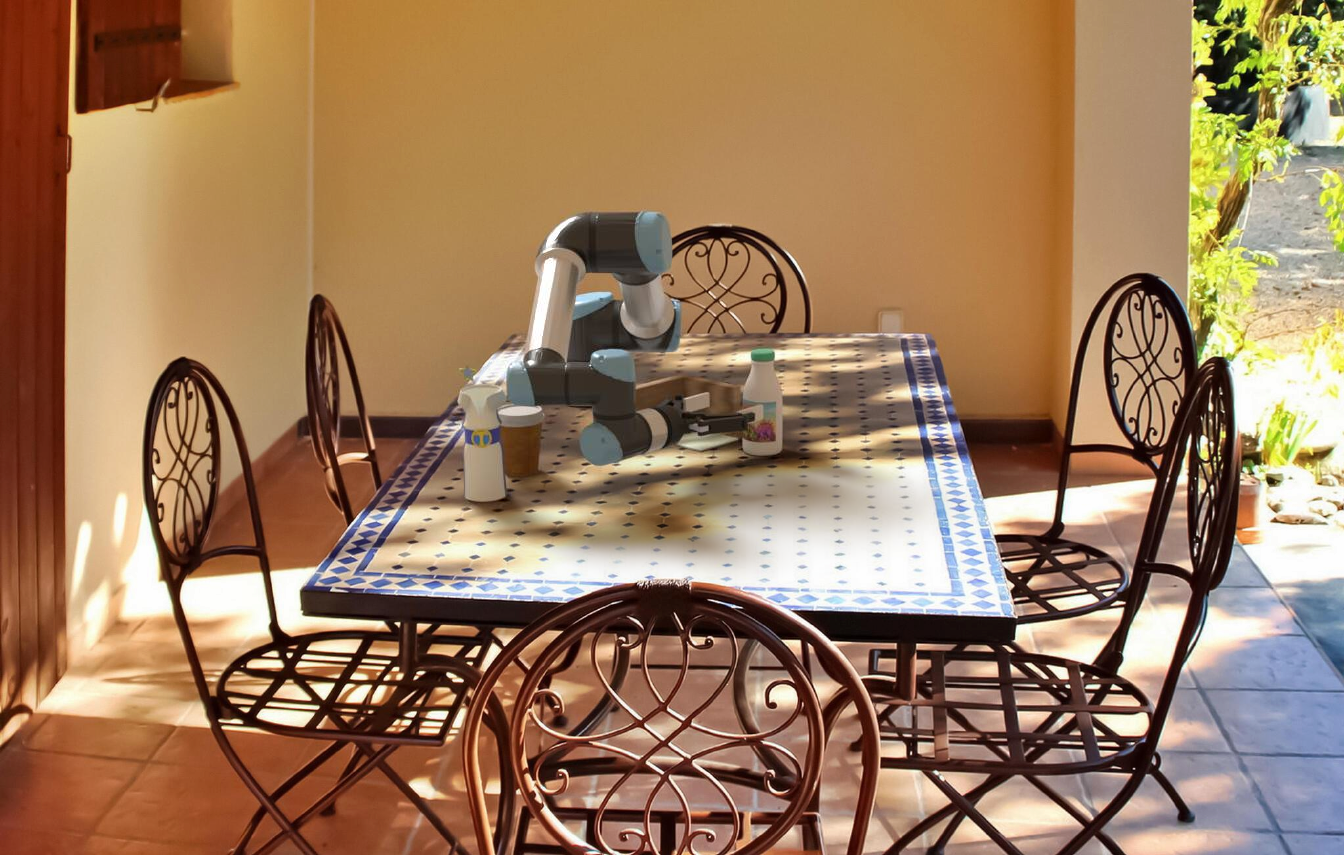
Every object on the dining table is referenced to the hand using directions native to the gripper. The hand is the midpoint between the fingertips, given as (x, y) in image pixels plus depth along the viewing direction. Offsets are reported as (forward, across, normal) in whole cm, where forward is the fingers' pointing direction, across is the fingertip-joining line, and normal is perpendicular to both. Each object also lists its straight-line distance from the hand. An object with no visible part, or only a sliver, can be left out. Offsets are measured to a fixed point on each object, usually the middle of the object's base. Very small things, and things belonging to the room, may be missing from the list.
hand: (734, 405), depth 271 cm
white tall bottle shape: (-45, -19, -11) cm, 50 cm away
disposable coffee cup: (-32, -25, -11) cm, 42 cm away
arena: (+4, -18, -11) cm, 21 cm away
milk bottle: (+8, 0, -11) cm, 14 cm away
